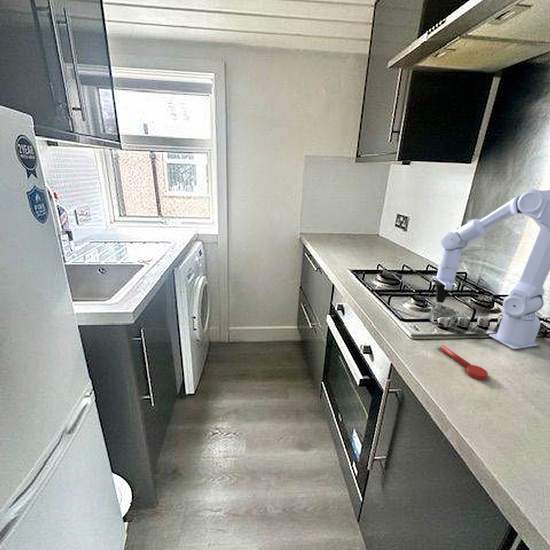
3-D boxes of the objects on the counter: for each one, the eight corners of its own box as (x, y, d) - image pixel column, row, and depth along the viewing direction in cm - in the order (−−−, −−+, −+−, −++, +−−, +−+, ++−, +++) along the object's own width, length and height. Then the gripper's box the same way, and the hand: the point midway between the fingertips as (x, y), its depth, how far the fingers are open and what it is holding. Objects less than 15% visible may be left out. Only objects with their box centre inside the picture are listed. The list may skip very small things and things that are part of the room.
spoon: (446, 347, 86) (447, 343, 86) (491, 378, 73) (492, 373, 73) (433, 349, 85) (434, 345, 84) (476, 381, 72) (478, 376, 72)
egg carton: (449, 329, 97) (452, 318, 95) (425, 320, 102) (428, 309, 100) (459, 319, 104) (462, 308, 103) (436, 311, 109) (438, 301, 108)
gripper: (432, 259, 113) (425, 293, 118) (439, 270, 100) (430, 307, 105) (453, 262, 111) (445, 296, 116) (463, 273, 98) (453, 311, 103)
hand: (439, 301), depth 110 cm, fingers closed
